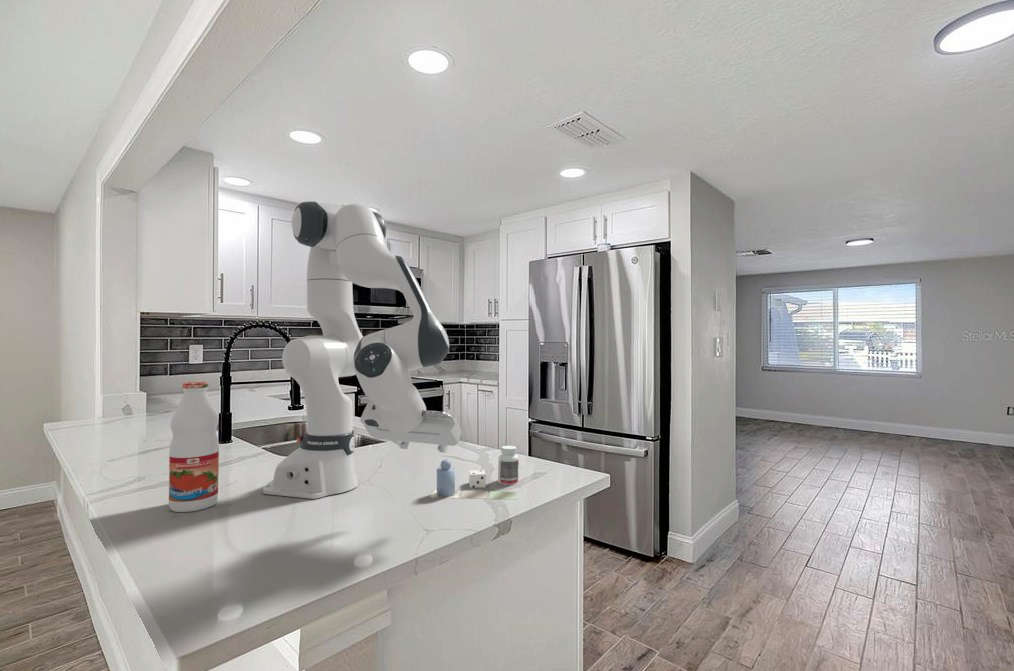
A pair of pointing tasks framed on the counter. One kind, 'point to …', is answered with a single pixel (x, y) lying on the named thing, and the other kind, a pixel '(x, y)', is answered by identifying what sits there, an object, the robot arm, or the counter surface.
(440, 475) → the pawn
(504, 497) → the track
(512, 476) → the pill bottle
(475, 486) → the die
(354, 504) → the counter surface
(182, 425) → the fruit juice
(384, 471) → the counter surface
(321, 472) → the robot arm
